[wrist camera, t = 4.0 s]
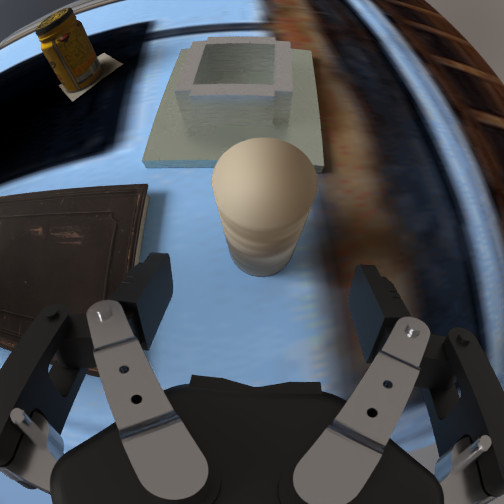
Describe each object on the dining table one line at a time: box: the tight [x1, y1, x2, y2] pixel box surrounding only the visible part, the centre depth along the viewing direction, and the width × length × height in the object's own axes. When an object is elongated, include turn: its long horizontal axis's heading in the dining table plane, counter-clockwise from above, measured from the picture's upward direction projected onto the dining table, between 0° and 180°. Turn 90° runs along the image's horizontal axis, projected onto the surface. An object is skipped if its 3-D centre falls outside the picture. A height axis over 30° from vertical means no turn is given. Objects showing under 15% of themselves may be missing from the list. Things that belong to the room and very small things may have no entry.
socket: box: [142, 37, 324, 173], centre depth 25 cm, size 16×18×5 cm
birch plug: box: [212, 138, 318, 277], centre depth 18 cm, size 5×5×10 cm
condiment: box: [36, 8, 123, 102], centre depth 25 cm, size 7×8×12 cm
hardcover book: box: [0, 184, 149, 377], centre depth 22 cm, size 16×23×2 cm
